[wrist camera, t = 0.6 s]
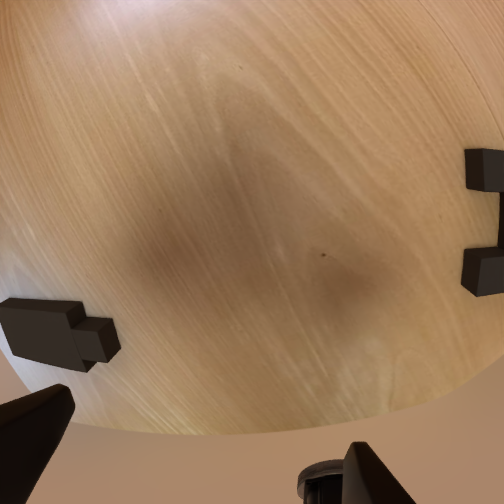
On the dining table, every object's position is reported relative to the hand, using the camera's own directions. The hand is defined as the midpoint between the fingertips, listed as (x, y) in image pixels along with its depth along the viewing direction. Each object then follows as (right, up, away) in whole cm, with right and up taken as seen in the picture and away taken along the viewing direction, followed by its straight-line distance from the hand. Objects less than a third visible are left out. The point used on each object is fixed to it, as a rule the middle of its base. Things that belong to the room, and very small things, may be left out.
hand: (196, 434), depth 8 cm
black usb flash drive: (-17, -2, +18) cm, 25 cm away
